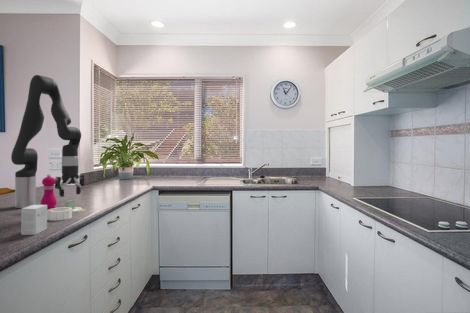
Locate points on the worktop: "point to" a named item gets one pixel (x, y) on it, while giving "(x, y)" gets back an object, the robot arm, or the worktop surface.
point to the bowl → (59, 213)
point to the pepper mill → (48, 192)
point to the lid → (72, 206)
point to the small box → (33, 219)
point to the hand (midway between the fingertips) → (70, 195)
